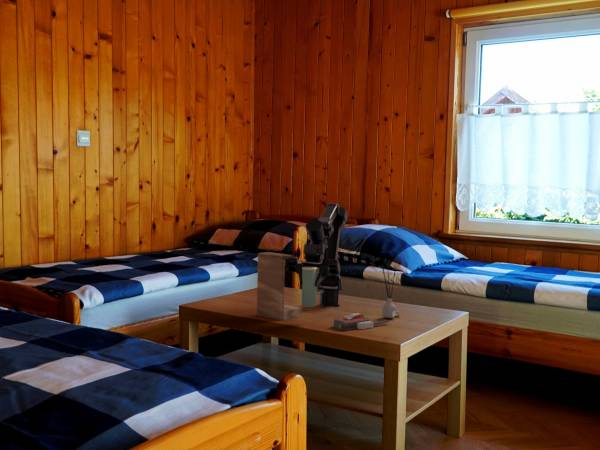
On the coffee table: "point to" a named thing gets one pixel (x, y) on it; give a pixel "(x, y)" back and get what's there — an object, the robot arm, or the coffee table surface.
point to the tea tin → (309, 286)
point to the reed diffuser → (389, 301)
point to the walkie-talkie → (355, 322)
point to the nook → (273, 287)
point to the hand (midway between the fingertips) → (308, 285)
